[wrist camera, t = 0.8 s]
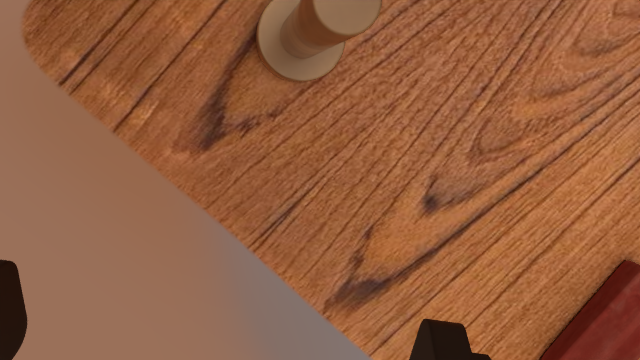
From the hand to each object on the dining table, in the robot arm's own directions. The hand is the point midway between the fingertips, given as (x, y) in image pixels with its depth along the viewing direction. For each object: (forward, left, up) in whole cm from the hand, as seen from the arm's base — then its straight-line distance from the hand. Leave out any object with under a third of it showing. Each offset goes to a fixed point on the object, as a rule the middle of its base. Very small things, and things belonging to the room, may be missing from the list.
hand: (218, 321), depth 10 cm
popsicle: (+23, +14, -18) cm, 32 cm away
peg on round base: (-3, +8, -18) cm, 20 cm away
